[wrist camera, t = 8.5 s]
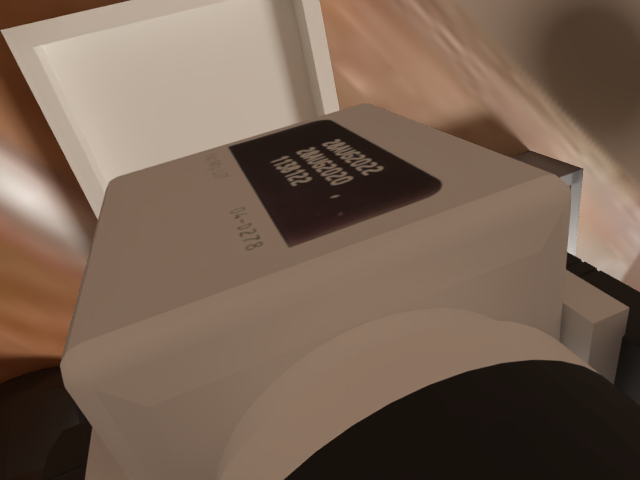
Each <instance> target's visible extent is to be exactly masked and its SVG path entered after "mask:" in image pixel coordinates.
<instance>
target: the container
mask: <svg viewBox="0 0 640 480" xmlns="http://www.w3.org/2000/svg"><path fill="white" fill-rule="evenodd" d="M571 199H572V196H571V190H570V187H569V186H568V185H567V184H566V183H565V182H563V181H562V180H561V179H560V178H559V177H557V176H556V175H555V174H552V173H549V172H547V171H544V170H542V169H539V168H536V167H534V166H531V165H529V164H526V163H523V162H521V161H518V160H515V159H513V158H510V157H508V156H505V155H502V154H500V153H497V152H495V151H492V150H489V149H487V148H484V147H482V146H479V145H476V144H474V143H471V142H468V141H466V140H463V139H461V138H458V137H455V136H453V135H450V134H448V133H445V132H442V131H440V130H437V129H435V128H432V127H429V126H427V125H424V124H421V123H419V122H416V121H414V120H411V119H408V118H406V117H403V116H401V115H398V114H395V113H393V112H390V111H388V110H385V109H382V108H380V107H377V106H374V105H372V104H360V105H357V106H353V107H350V108H346V109H343V110H340V111H336V112H333V113H330V114H326V115H323V116H320V117H316V118H313V119H309V120H306V121H303V122H299V123H296V124H293V125H289V126H286V127H283V128H279V129H276V130H273V131H269V132H266V133H262V134H259V135H256V136H252V137H249V138H246V139H242V140H239V141H236V142H232V143H229V144H225V145H222V146H219V147H215V148H212V149H209V150H205V151H202V152H199V153H195V154H192V155H188V156H185V157H182V158H178V159H175V160H172V161H168V162H165V163H162V164H158V165H155V166H151V167H148V168H145V169H141V170H138V171H135V172H131V173H128V174H125V175H121V176H118V177H116V178H114V179H112V180H111V181H110V182H109V184H108V186H107V188H106V191H105V195H104V199H103V203H102V207H101V210H100V214H99V218H98V222H97V226H96V229H95V233H94V237H93V241H92V245H91V248H90V252H89V256H88V260H87V264H86V267H85V271H84V275H83V279H82V283H81V286H80V290H79V294H78V298H77V302H76V305H75V309H74V313H73V317H72V321H71V324H70V328H69V332H68V336H67V339H66V343H65V347H64V351H63V355H62V358H61V362H60V368H61V373H62V378H63V382H64V386H65V388H66V390H67V391H68V392H69V394H70V395H71V397H72V398H73V400H74V401H75V402H76V404H77V405H78V407H79V408H80V410H81V411H82V412H83V414H84V415H85V417H86V418H87V420H88V421H89V423H90V424H91V425H92V427H93V428H94V430H95V431H96V433H97V434H98V435H99V437H100V438H101V440H102V441H103V443H104V444H105V445H106V447H107V448H108V450H109V451H110V453H111V454H112V455H113V457H114V458H115V460H116V461H117V463H118V464H119V465H120V467H121V468H122V470H123V471H124V473H125V474H126V475H127V477H128V478H129V480H640V405H639V404H638V403H636V402H635V401H634V400H633V399H631V398H630V397H629V396H628V395H626V394H625V393H624V392H622V391H621V390H620V389H619V388H617V387H616V386H615V385H614V384H612V383H611V382H610V381H608V380H607V379H606V378H605V377H603V376H602V375H601V374H600V373H598V372H597V371H596V370H595V369H593V368H592V367H591V366H589V365H588V364H587V363H586V362H584V361H583V360H582V359H581V358H579V357H578V356H577V355H575V354H574V353H573V352H572V351H570V350H569V349H568V348H567V347H565V346H564V345H563V344H562V343H560V342H559V341H560V330H561V318H562V306H563V295H564V283H565V271H566V260H567V248H568V236H569V224H570V213H571Z"/></svg>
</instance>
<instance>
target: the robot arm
mask: <svg viewBox="0 0 640 480" xmlns="http://www.w3.org/2000/svg"><path fill="white" fill-rule="evenodd" d="M559 342H560V343H562V344H563V345H564V346H565V347H567V348H568V349H569V350H570V351H572V352H573V353H574V354H575V355H577V356H578V357H579V358H581V359H582V360H583V361H584V362H586V363H587V364H588V365H589V366H591V367H592V368H593V369H595V370H596V371H597V372H598V373H600V374H601V375H602V376H603V377H605V378H606V379H607V380H608V381H610V382H611V383H612V384H614V385H615V386H616V387H617V388H619V389H620V390H621V391H622V392H624V393H625V394H626V395H628V396H629V397H630V398H631V399H633V400H634V401H635V402H636V403H638V404H639V405H640V292H638V291H637V290H635V289H633V288H631V287H629V286H628V285H626V284H624V283H622V282H620V281H619V280H617V279H615V278H613V277H611V276H610V275H608V274H606V273H604V272H602V271H597V268H595V267H593V266H592V265H590V264H588V263H586V262H582V261H581V259H579V258H577V257H576V256H574V255H572V254H570V253H568V252H567V260H566V271H565V283H564V295H563V306H562V318H561V330H560V341H559ZM0 480H129V478H128V477H127V475H126V474H125V473H124V471H123V470H122V468H121V467H120V465H119V464H118V463H117V461H116V460H115V458H114V457H113V455H112V454H111V453H110V451H109V450H108V448H107V447H106V445H105V444H104V443H103V441H102V440H101V438H100V437H99V435H98V434H97V433H96V431H95V430H94V428H93V427H92V425H91V424H90V423H89V421H88V420H87V418H86V417H85V415H84V414H83V412H82V411H81V410H80V408H79V407H78V405H77V404H76V402H75V401H74V400H73V398H72V397H71V395H70V394H69V392H68V391H67V390H66V388H65V386H64V382H63V378H62V373H61V368H60V367H57V368H51V369H45V370H40V371H36V372H33V373H29V374H26V375H23V376H20V377H18V378H15V379H13V380H11V381H8V382H6V383H4V384H2V385H0Z"/></svg>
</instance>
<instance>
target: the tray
mask: <svg viewBox="0 0 640 480" xmlns="http://www.w3.org/2000/svg"><path fill="white" fill-rule="evenodd" d="M1 32H2V34H3V36H4V38H5V40H6V42H7V44H8V46H9V48H10V50H11V52H12V54H13V56H14V58H15V60H16V62H17V64H18V65H19V67H20V69H21V71H22V73H23V75H24V77H25V79H26V81H27V83H28V85H29V87H30V89H31V91H32V93H33V95H34V97H35V99H36V101H37V102H38V104H39V106H40V108H41V110H42V112H43V114H44V116H45V118H46V120H47V122H48V124H49V126H50V128H51V130H52V132H53V134H54V136H55V138H56V139H57V141H58V143H59V145H60V147H61V149H62V151H63V153H64V155H65V157H66V159H67V161H68V163H69V165H70V167H71V169H72V171H73V173H74V174H75V176H76V178H77V180H78V182H79V184H80V186H81V188H82V190H83V192H84V194H85V196H86V198H87V200H88V202H89V204H90V206H91V208H92V210H93V211H94V213H95V215H96V217H97V219H98V218H99V214H100V210H101V207H102V203H103V199H104V195H105V191H106V188H107V186H108V184H109V182H110V181H111V180H112V179H114V178H116V177H118V176H121V175H125V174H128V173H131V172H135V171H138V170H141V169H145V168H148V167H151V166H155V165H158V164H162V163H165V162H168V161H172V160H175V159H178V158H182V157H185V156H188V155H192V154H195V153H199V152H202V151H205V150H209V149H212V148H215V147H219V146H222V145H225V144H229V143H232V142H236V141H239V140H242V139H246V138H249V137H252V136H256V135H259V134H262V133H266V132H269V131H273V130H276V129H279V128H283V127H286V126H289V125H293V124H296V123H299V122H303V121H306V120H309V119H313V118H316V117H320V116H323V115H326V114H330V113H333V112H336V111H340V110H339V105H338V99H337V94H336V89H335V83H334V78H333V72H332V67H331V61H330V56H329V51H328V45H327V40H326V34H325V29H324V23H323V18H322V12H321V7H320V2H319V0H130V1H125V2H121V3H117V4H112V5H108V6H104V7H99V8H95V9H91V10H86V11H82V12H78V13H73V14H69V15H64V16H60V17H56V18H51V19H47V20H43V21H38V22H34V23H30V24H25V25H21V26H16V27H12V28H8V29H3V30H1Z"/></svg>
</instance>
